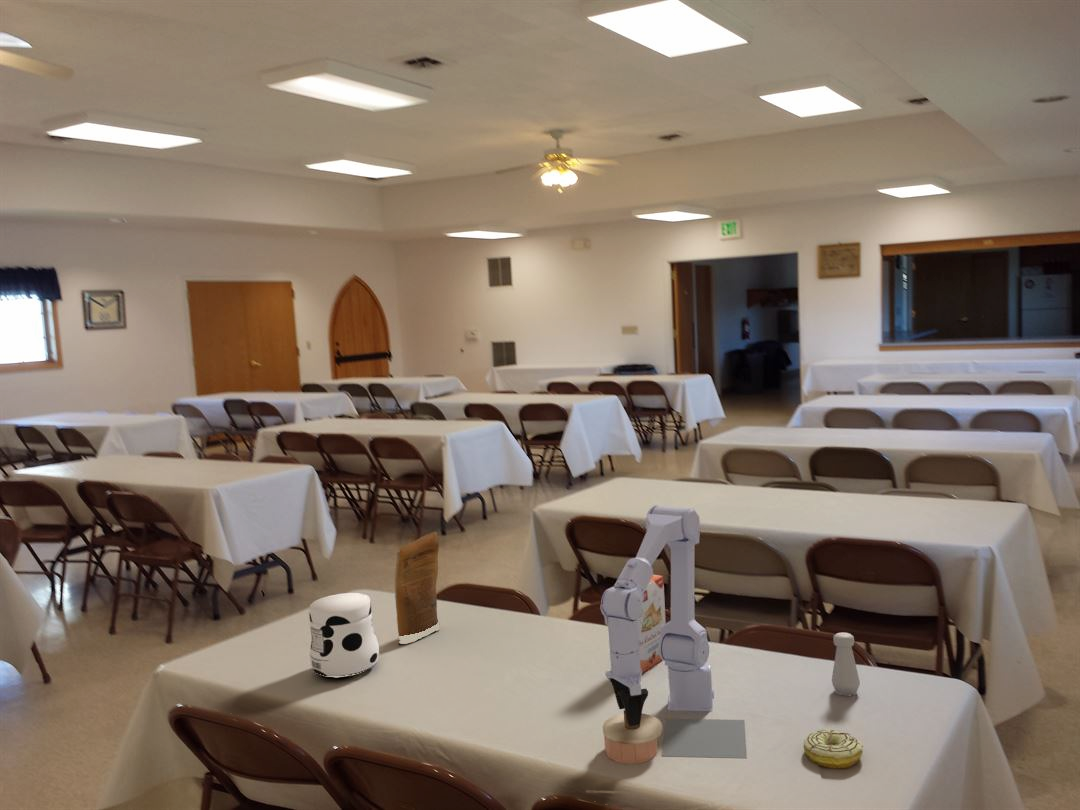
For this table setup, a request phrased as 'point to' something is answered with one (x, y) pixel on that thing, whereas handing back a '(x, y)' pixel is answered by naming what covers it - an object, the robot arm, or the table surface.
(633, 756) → the bowl
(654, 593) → the cracker box
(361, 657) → the milk container
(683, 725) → the mat
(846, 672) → the salt shaker
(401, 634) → the pancake mix bag
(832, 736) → the decorated donut
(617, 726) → the lid
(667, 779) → the table surface
